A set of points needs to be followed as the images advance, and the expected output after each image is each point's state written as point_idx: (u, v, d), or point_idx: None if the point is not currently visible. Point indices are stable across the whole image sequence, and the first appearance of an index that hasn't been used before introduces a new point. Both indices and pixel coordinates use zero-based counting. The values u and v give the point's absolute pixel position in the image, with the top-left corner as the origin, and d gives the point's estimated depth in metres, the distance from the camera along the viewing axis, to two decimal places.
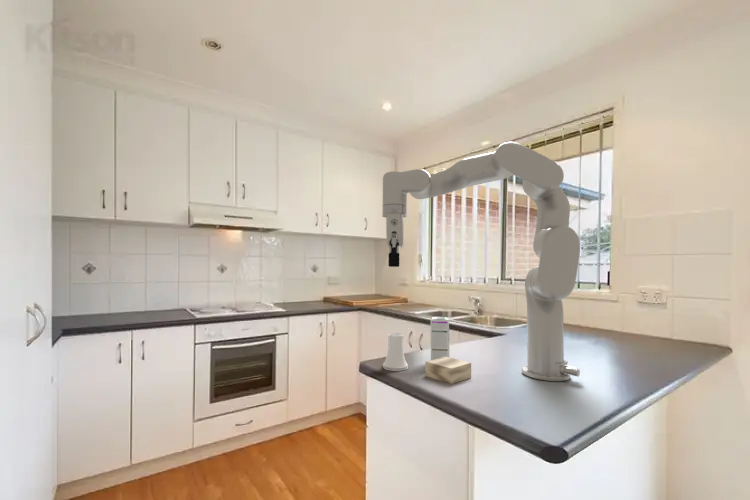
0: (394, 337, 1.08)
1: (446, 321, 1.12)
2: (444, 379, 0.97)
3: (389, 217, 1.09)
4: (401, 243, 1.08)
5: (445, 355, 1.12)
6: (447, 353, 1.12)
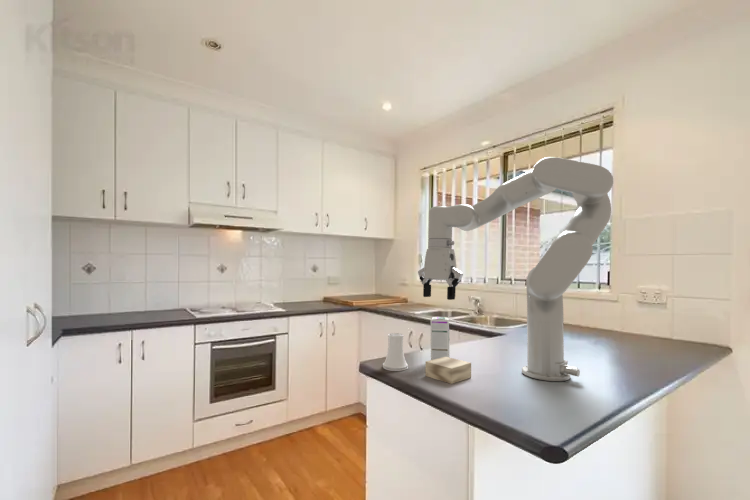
0: (394, 337, 1.08)
1: (446, 321, 1.12)
2: (444, 379, 0.97)
3: (447, 251, 1.13)
4: (455, 277, 1.14)
5: (445, 355, 1.12)
6: (447, 353, 1.12)
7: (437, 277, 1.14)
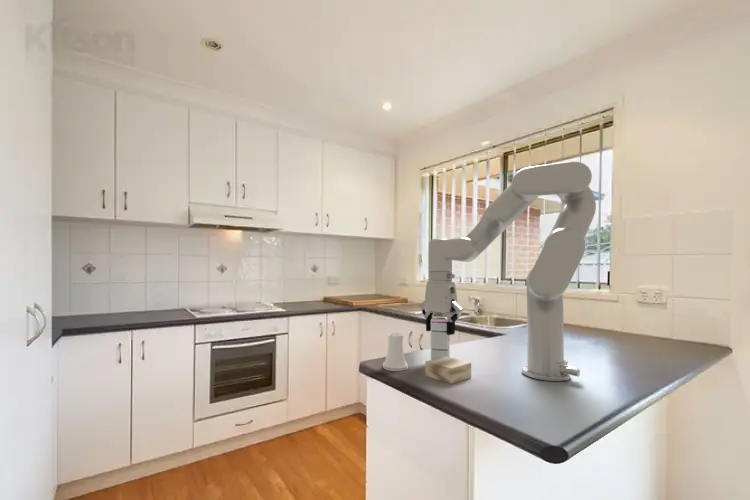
0: (394, 337, 1.08)
1: (446, 321, 1.12)
2: (444, 379, 0.97)
3: (448, 285, 1.12)
4: None
5: (445, 355, 1.12)
6: (447, 353, 1.12)
7: (438, 310, 1.14)
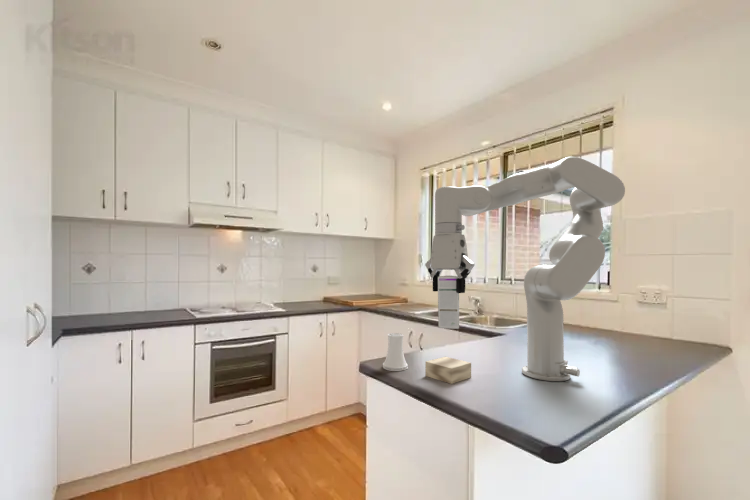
0: (394, 337, 1.08)
1: (455, 278, 1.00)
2: (444, 379, 0.97)
3: (457, 237, 0.99)
4: (467, 266, 1.01)
5: (454, 316, 1.00)
6: (457, 314, 0.99)
7: (446, 266, 1.01)
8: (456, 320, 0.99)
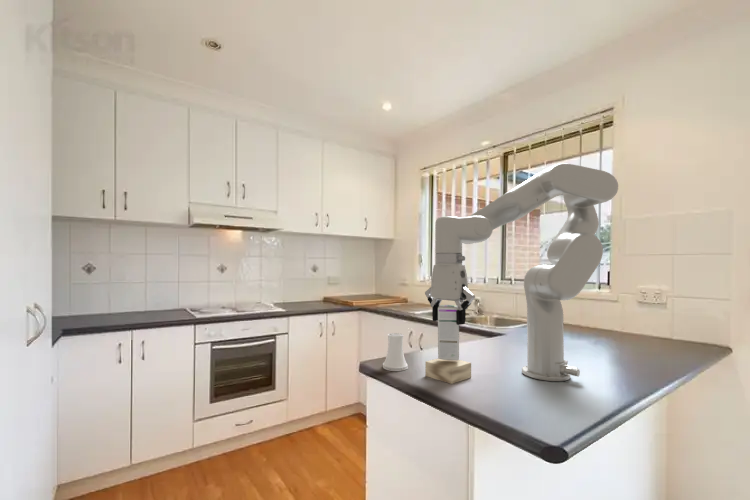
0: (394, 337, 1.08)
1: (456, 309, 0.99)
2: (444, 379, 0.97)
3: (457, 268, 0.99)
4: None
5: (454, 348, 0.99)
6: (457, 345, 0.99)
7: (446, 297, 1.00)
8: (456, 351, 0.99)
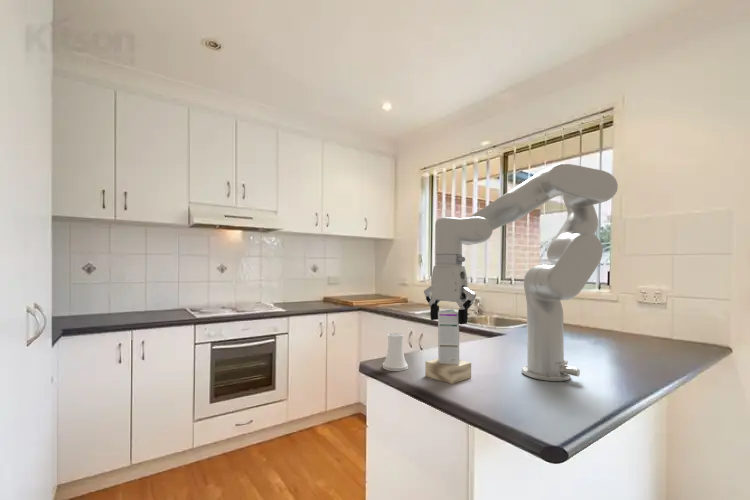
0: (394, 337, 1.08)
1: (456, 314, 0.99)
2: (444, 379, 0.97)
3: (457, 269, 0.99)
4: (467, 297, 1.00)
5: (455, 352, 0.99)
6: (457, 350, 0.99)
7: (446, 298, 1.00)
8: (457, 356, 0.99)
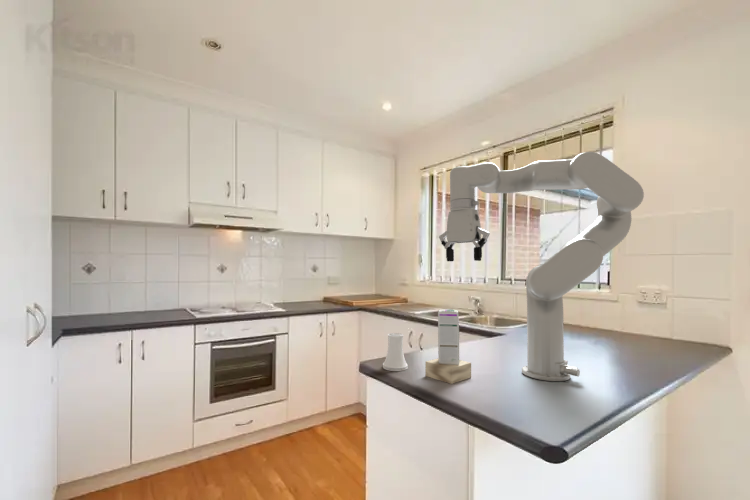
0: (394, 337, 1.08)
1: (456, 314, 0.99)
2: (444, 379, 0.97)
3: (472, 211, 1.10)
4: (480, 238, 1.12)
5: (455, 352, 0.99)
6: (457, 350, 0.99)
7: (462, 239, 1.11)
8: (457, 356, 0.99)
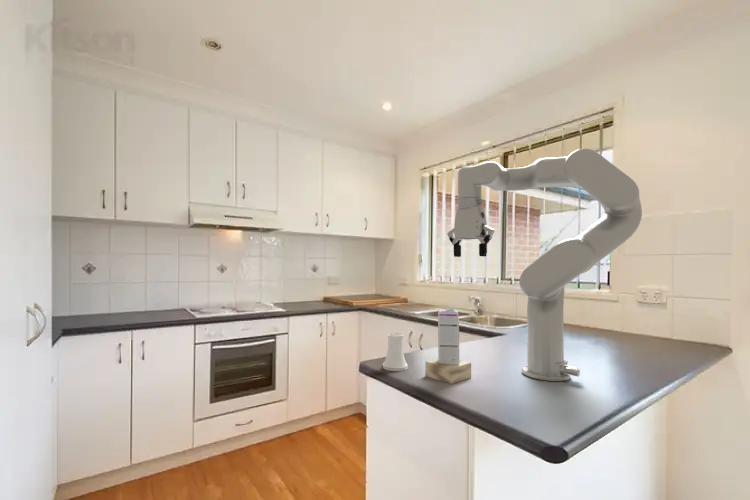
0: (394, 337, 1.08)
1: (456, 314, 0.99)
2: (444, 379, 0.97)
3: (478, 209, 1.15)
4: (486, 235, 1.17)
5: (455, 352, 0.99)
6: (457, 350, 0.99)
7: (468, 235, 1.17)
8: (457, 356, 0.99)
